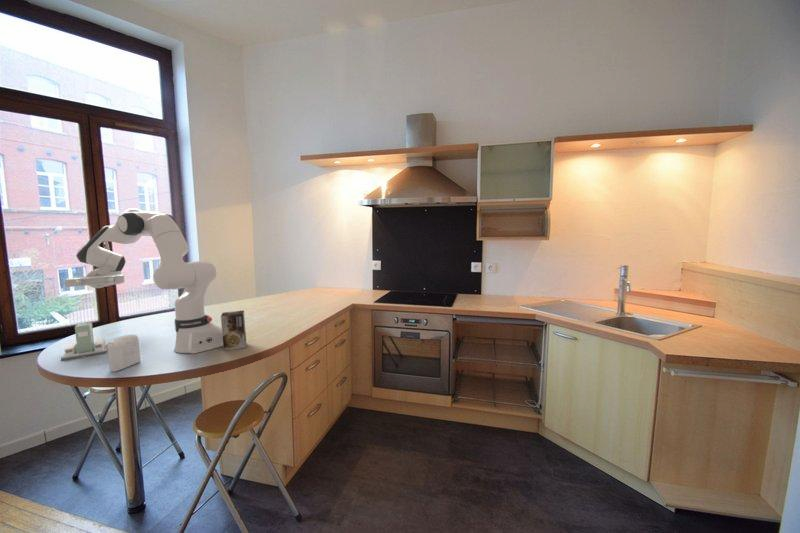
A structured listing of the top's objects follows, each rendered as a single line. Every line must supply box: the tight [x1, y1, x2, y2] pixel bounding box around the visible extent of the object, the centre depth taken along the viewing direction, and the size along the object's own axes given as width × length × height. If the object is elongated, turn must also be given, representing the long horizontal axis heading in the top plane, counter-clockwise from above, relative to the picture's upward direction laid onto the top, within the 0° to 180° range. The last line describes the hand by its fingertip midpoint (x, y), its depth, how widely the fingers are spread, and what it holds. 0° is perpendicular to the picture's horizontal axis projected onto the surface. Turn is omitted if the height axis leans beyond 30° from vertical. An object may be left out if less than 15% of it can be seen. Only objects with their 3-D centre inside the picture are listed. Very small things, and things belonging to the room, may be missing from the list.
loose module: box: [74, 321, 95, 354], centre depth 140 cm, size 4×6×12 cm
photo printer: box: [106, 334, 141, 373], centre depth 126 cm, size 10×4×12 cm, turn 170°
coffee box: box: [220, 310, 248, 352], centre depth 146 cm, size 9×6×16 cm
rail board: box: [60, 337, 108, 362], centre depth 141 cm, size 14×11×4 cm
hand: (93, 282), depth 146 cm, fingers open, 8 cm apart
